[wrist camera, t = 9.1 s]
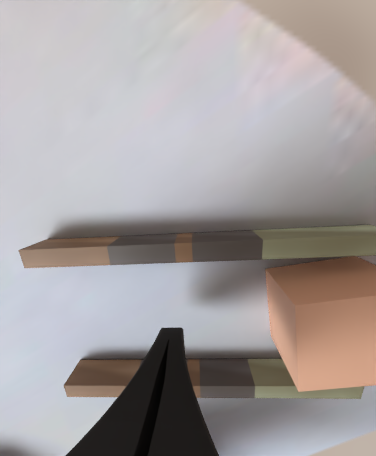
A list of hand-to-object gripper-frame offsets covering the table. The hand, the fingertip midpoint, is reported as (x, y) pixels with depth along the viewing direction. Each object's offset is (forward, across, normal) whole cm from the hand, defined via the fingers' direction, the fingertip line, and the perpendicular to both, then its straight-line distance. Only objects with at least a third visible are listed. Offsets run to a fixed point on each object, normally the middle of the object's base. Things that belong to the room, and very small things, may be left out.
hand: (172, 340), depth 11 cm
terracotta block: (+3, -10, -1) cm, 10 cm away
